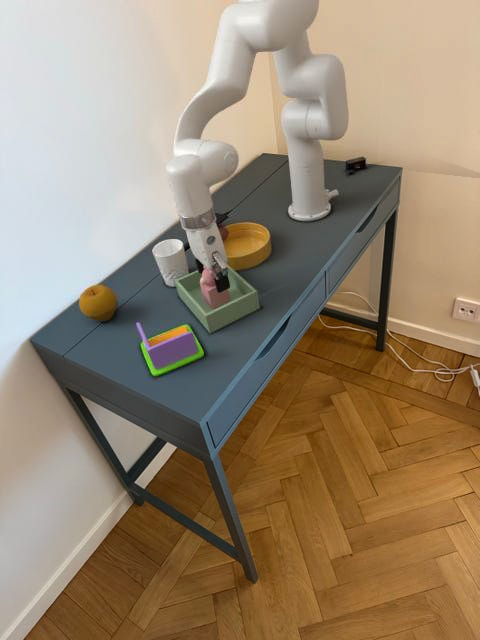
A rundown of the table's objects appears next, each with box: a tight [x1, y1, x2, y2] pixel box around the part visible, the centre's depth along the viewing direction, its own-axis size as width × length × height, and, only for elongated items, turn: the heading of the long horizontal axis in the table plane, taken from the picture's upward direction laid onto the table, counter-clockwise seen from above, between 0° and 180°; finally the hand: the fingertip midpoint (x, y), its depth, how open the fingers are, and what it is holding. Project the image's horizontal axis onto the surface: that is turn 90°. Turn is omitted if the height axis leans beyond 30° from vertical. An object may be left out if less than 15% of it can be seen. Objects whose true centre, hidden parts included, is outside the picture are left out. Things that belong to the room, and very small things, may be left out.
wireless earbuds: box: [345, 156, 367, 175], centre depth 152 cm, size 5×7×3 cm, turn 102°
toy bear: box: [200, 266, 231, 309], centre depth 108 cm, size 5×5×10 cm
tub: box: [175, 262, 261, 334], centre depth 110 cm, size 13×17×5 cm
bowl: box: [213, 222, 273, 271], centre depth 125 cm, size 17×17×4 cm
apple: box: [78, 284, 118, 322], centre depth 112 cm, size 9×9×9 cm
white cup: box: [152, 238, 190, 288], centre depth 119 cm, size 8×8×10 cm
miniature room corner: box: [135, 321, 205, 377], centre depth 99 cm, size 12×12×7 cm
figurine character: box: [215, 212, 230, 241], centre depth 133 cm, size 7×8×15 cm
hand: (214, 280), depth 108 cm, fingers open, 9 cm apart
